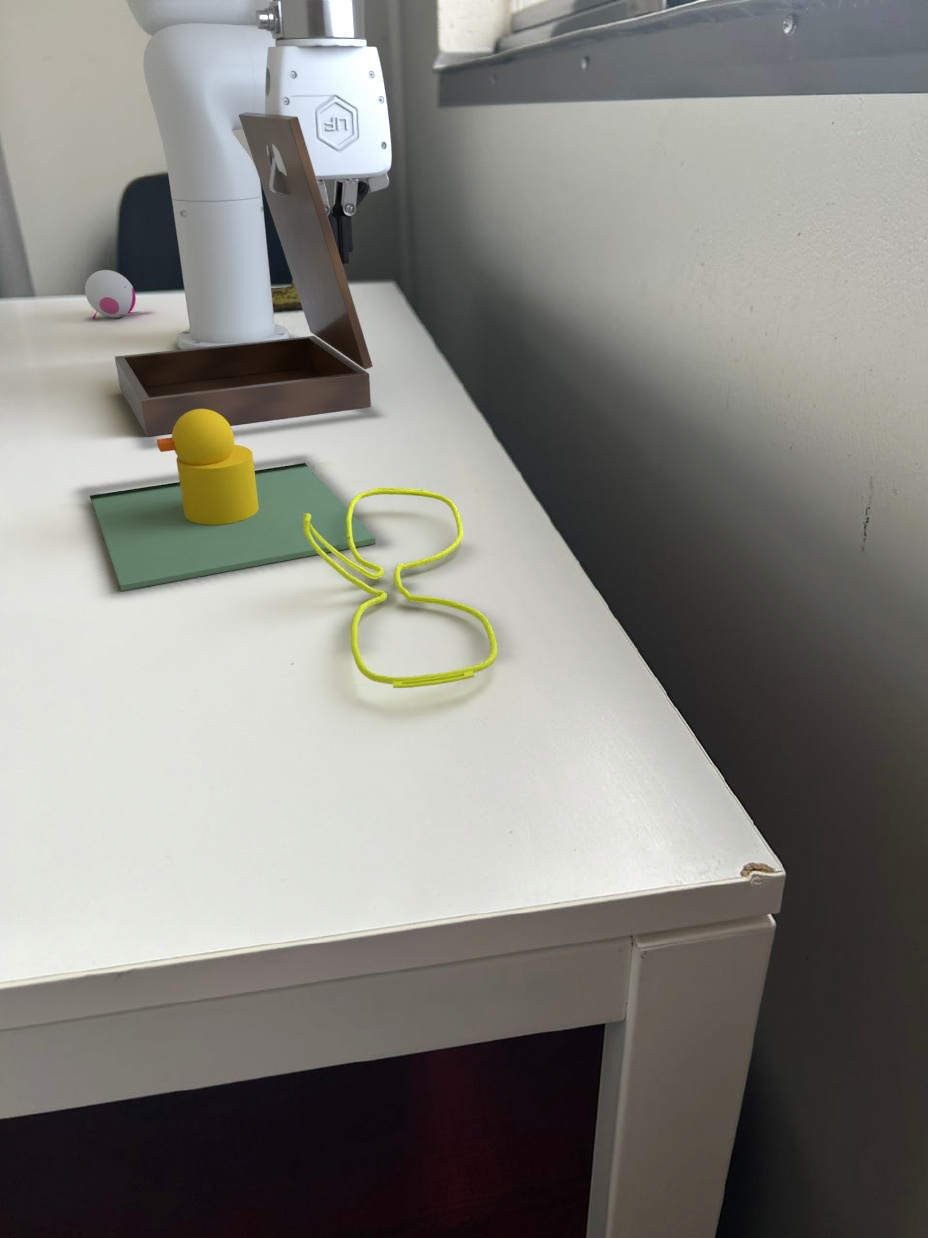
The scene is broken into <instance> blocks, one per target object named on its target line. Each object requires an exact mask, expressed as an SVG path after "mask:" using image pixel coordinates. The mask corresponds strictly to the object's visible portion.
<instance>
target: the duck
mask: <svg viewBox="0 0 928 1238" xmlns="http://www.w3.org/2000/svg"><path fill="white" fill-rule="evenodd" d="M156 444H157V447H158V450H159V451H160V452H161V453H164V452H171V451H174V453H175V454H176V456H177V457H176V466H177V473H178V479H179V480H178V481H179V482H180V487H181V493H182V500H183V506H184V513H185V516H186V518H187V519H188V520H190V521H192V522H195V523H198V524H205V525H222V524H230V523H235V522H239V521H242V520H245V519H248V518H250V517H251V516H253V515H254V514H256V513H257V511H258V509H259V506H258V497H257V489H256V480H255V464H254V455H253V451H252V450H251V449H250V448H249V447H247V446H243V445H238V444H235V435H234V431H233V428H232V426H230V425H229V423H228V422H227V421H226V419H225V418H224V417H222V416H221V415H220V414H218V413H216V412H214V411H212V410H208V409H195V410H192V411H189V412H187V413H185V414H184V415H183V416H181V417H180V418H179V419H178V421H177V422H176V424H175V426H174V428H173V432H172V434H171V437H166V438H164V437H163V438H157V439H156Z"/></svg>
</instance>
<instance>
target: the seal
mask: <svg viewBox="0 0 928 1238" xmlns="http://www.w3.org/2000/svg"><path fill="white" fill-rule="evenodd" d="M290 281H291V282H290V284H291V285H290V286H289V285H288V286H280V287H271V293H272V304H273V312H278V311H279V312H280V311H281V312H282V311H295V310H303V308H302V305H301V302H300V299H299V296H298V293H297V290H296V287H295V284H294V281H293V278H291V280H290Z"/></svg>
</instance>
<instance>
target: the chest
mask: <svg viewBox="0 0 928 1238" xmlns="http://www.w3.org/2000/svg"><path fill="white" fill-rule="evenodd" d="M114 361H115V367H116V372H117V378H118V384H119V389H120V391H121V392H122V394H123V396H124V398H125V399H126V401H127V404H128V405H129V406H130V409H131V411H132V412H133V415H134V416H135V418H136V419H137V421H138V423H139V425H140V427H141V429H142V430H143V432H144V434H145V436H146V437H147V438H153V437H161V436H167V435H172V432H173V428H174V426H175V424H176V422H177V421H178V419H179V418H180V417H181V416H183V415H184V414H185V413H187V412H189V411H192V410H195V409H208V410H212V411H214V412H216V413H218V414H220V415H221V416H222V417H224V418H225V419H226V421H227V422H228V423H229V425H230V426H231V427H235V426H243V425H250V424H257V423H265V422H271V421H272V422H273V421H280V420H287V419H295V418H302V417H303V418H304V417H310V416H316V415H317V416H319V415H324V414H325V415H326V414H332V413H340V412H347V411H354V410H362V409H369V408H371V407H372V401H371V400H372V399H371V382H370V380H371V379H370V373H369V372H367V371H366V370H365V369H363V368H362V367H360V366H359V365H358V364H356V363H355V362H353V361H352V360H350V359H349V358H347V357H346V356H344V355H343V354H342V353H340V352H339V351H337V350H336V349H334V348H333V347H331V346H330V345H328V344H327V343H326V342H324V341H323V340H321V339H320V338H318V337H317V336H315V335H308V336H298V337H289V338H288V339H278V340H268V341H259V342H249V343H240V344H230V345H220V346H211V347H201V348H192V349H174V350H165V351H164V350H163V351H155V352H145V353H136V354H135V353H134V354H125V355H116V356H114Z"/></svg>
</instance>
